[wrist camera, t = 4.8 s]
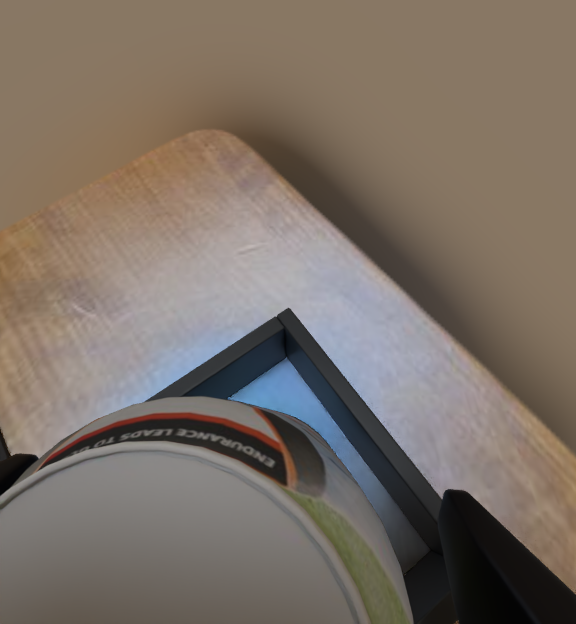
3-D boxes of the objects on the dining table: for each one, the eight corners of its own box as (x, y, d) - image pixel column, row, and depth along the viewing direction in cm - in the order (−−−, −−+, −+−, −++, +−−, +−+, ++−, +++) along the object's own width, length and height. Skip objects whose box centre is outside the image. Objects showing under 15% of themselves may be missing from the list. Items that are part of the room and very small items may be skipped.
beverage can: (344, 423, 16) (458, 282, 5) (340, 650, 13) (620, 1661, 2) (194, 411, 16) (-21, 252, 5) (155, 630, 13) (-576, 1390, 2)
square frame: (455, 554, 14) (503, 574, 11) (211, 786, 11) (180, 902, 8) (290, 339, 17) (289, 306, 14) (78, 482, 15) (20, 481, 12)
